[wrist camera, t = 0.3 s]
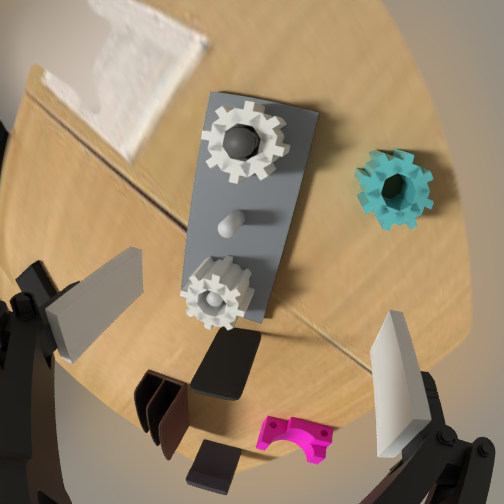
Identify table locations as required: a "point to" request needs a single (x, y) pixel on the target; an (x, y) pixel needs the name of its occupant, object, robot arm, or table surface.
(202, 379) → the phone
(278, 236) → the gear board
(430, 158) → the table surface
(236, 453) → the calculator
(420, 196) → the teal gear
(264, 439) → the magenta mounting bracket
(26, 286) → the black book
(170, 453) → the letter holder
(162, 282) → the table surface
